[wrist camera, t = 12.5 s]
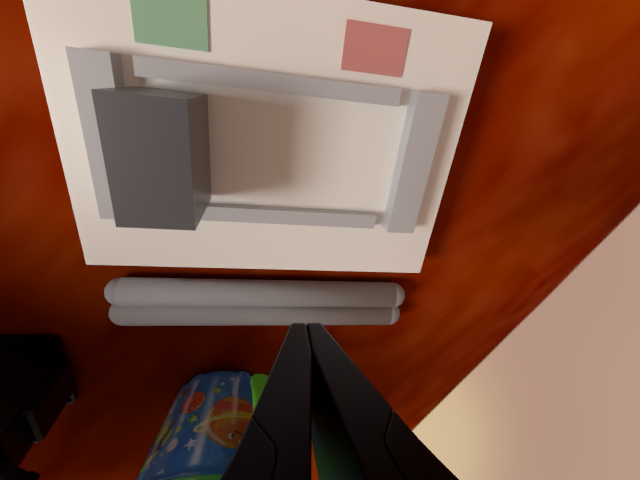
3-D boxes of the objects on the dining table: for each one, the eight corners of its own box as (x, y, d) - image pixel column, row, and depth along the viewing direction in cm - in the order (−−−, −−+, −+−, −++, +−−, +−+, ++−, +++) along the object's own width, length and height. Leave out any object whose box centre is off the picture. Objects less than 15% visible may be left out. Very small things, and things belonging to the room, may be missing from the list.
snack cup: (226, 463, 31) (208, 620, 22) (118, 429, 27) (42, 605, 18) (332, 364, 27) (362, 508, 18) (223, 307, 23) (191, 456, 14)
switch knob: (149, 194, 16) (116, 227, 13) (136, 86, 14) (90, 89, 11) (211, 198, 17) (195, 230, 13) (207, 94, 15) (186, 99, 11)
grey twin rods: (118, 313, 22) (106, 332, 20) (7, -227, 11) (-36, -276, 10) (392, 314, 25) (400, 330, 24) (502, -104, 15) (530, -126, 13)
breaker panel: (102, 247, 20) (76, 274, 17) (42, -44, 14) (-14, -73, 11) (408, 257, 23) (426, 281, 20) (469, 27, 17) (506, 18, 14)
